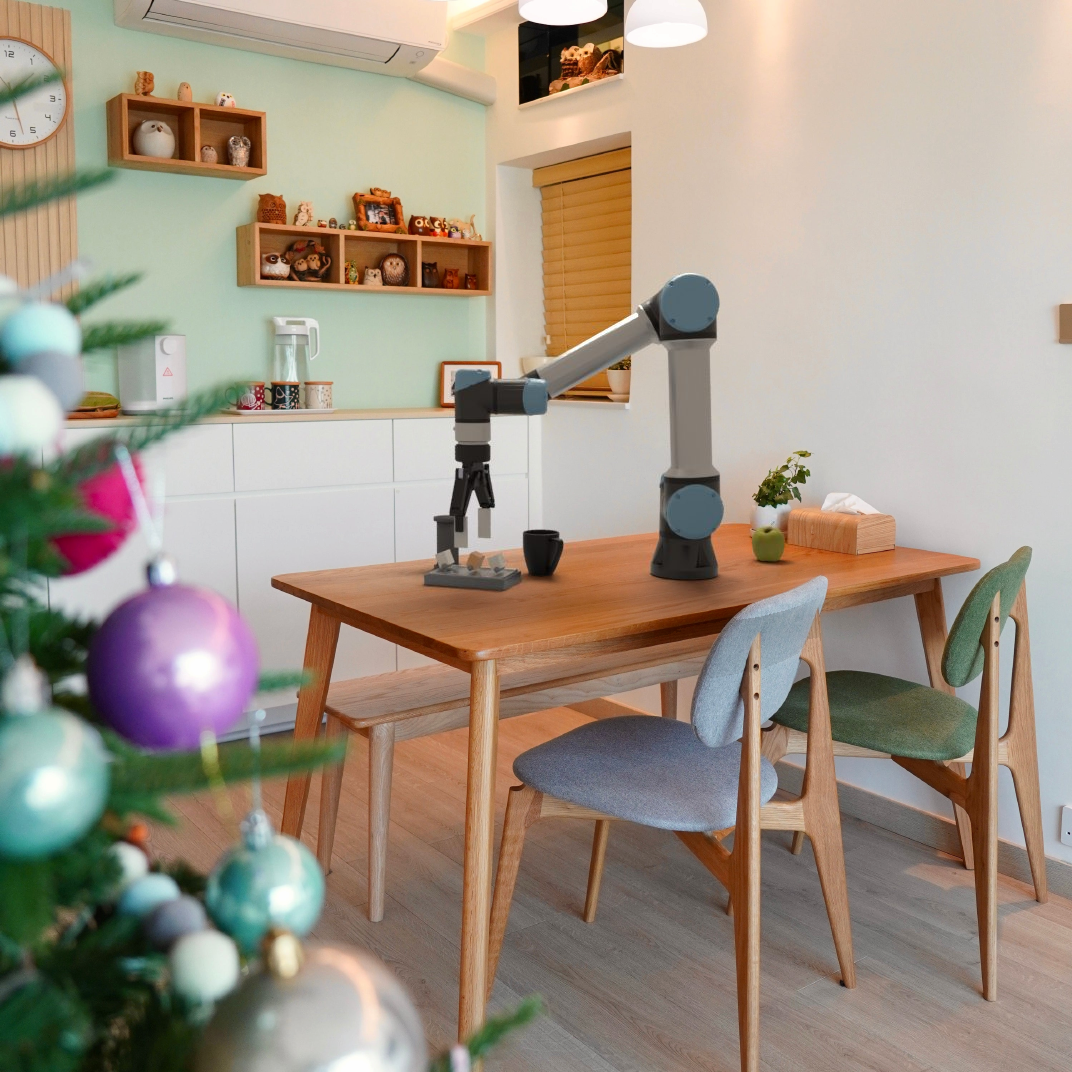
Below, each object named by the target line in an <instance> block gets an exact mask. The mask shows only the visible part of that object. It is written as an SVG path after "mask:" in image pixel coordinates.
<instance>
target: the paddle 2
mask: <svg viewBox="0 0 1072 1072" xmlns="http://www.w3.org/2000/svg"><path fill="white" fill-rule="evenodd" d="M486 559H487V561H488V565H489V567H491V570H492V571H494V572H496V573H498V572H500V571H502V570H504V569H505V568H506V567H507V565H508V564H507V563H506V560H505V558H504V555H503V552H499V553H495V554H493V555H491V556H489V557H487V558H486Z"/></svg>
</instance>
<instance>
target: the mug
mask: <svg viewBox="0 0 1072 1072" xmlns="http://www.w3.org/2000/svg"><path fill="white" fill-rule="evenodd" d="M564 544H565V543H564V540H563V539H562V538H560V532H559V530H555V529H554V530H553V529H527V530H524V531H523V532H522V551H523V557H524V563H525V565H526V569H527V573H528V575H530V576H535V577H548V576H549V577H550V576H552V575H554V572H555V571H556V569H557V567H558V564H559V562H560V560H561V557H562V554H563V551H564Z"/></svg>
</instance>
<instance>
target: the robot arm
mask: <svg viewBox="0 0 1072 1072" xmlns="http://www.w3.org/2000/svg"><path fill="white" fill-rule="evenodd" d="M719 309H720V295H719V293H718V290H717V288H716V287H715V285H714V283H713V282H712V281H711V280H709V279H708V278H707V277H706V276H705V275H704V276H703V275H701V274H698V273H695V272H692V273H691V272H687V273H680V274H677V275H675V276H673V277H672V278H670V279H669V280H667V282H666V283H665V284H664V286H663V287H662V288H660V290H658V291H657V293H655V294H654V295H653V296H652V297H651V298H648V300H646V301H644V302H642V303H640V304H638V307H637V309H636V311H635V312H634V313H632V314H630V315H629V316H627V317H625V318H623V319H622V320H620V321H618V322H616V323H615V324H613V325H611V326H609V327H608V328H605V329H604V330H602V331H600V332H599V333H597V334H594V335H593V336H592V337H590V338H588V339H586V340H585V341H583V342H580V343H579V344H577V345H575V346H573V347H571V348H570V349H568V350H566V351H565V352H563V353H561V354H559V355H558V356H556V357H554V358H553V359H550V360H549V361H547V362H545V363H543V364H542V365H540V366H538V367H537V368H535V369H533V370H532V371H529V372H527V373H526V374H524V375H522V376H520V377H519V378H495V377H492V375H491V371H490V369H487V368H480V369H479V368H476V369H475V368H461V369H458V370H457V371H456V372H455V374H454V391H453V393H454V396H453V399H454V426H453V428H452V430H453V431H454V440H455V441H456V442H457V443H456V444H455V445H454V460H455V461H456V462H458V463H461V467H455V471H454V472H455V473H454V483H453V488H452V493H451V499H450V506H449V512H448V513H449V514H448V515H450V516H454V547H457V548H461V549H462V548H463V549H468V548H469V544H468V543H469V538H468V537H469V536H468V535H469V534H468V533H469V532H468V531H469V530H468V526H469V523H468V522H469V521H468V519H469V518H468V516H466V515H467V513H468V512H467V511H468V508H469V505H470V501H471V497H472V493H473V491H474V494H475V497H476V501H477V502H478V505H479V507H478V508H477V539H491V538H492V537H491V536H492V535H491V534H492V533H491V532H492V530H491V527H492V525H491V523H492V522H491V521H492V520H491V519H492V517H491V516H492V515H491V513H492V512H491V511H492V509H495V507H496V503H495V495H494V491H493V490H494V489H493V484H492V480H491V471H490V470H491V469H490V463H489V462H490V461H491V454H492V453H491V452H492V451H491V450H492V449H491V445H490V444H489V442H490V441H491V440H492V438H491V437H492V435H491V433H492V432H491V431H492V430H491V429H492V428H491V425H492V424H491V417H492V416H491V415H496V416H497V415H505V416H507V415H509V416H510V415H511V416H530V417H532V416H542V415H545V414H547V411H548V402H549V401H551V400H552V399H554V398H556V397H558V396H560V395H561V394H563V393H565V392H567V391H569V390H571V389H573V388H575V387H576V386H578V385H580V384H582V383H583V382H585V381H587V380H589V379H590V378H593V377H594V376H596V375H597V374H600V373H601V372H603V371H605V370H607V369H608V368H611V367H612V366H614V365H616V364H618V363H619V362H621V361H623V360H624V359H626V358H628V357H630V356H632V355H634V354H635V353H637V352H639V351H641V350H643V349H645V348H646V347H648V346H650V345H651V344H654V345H659V346H660V345H662V346H663V348H664V349H666V350H667V369H668V370H667V371H668V372H667V374H668V377H667V378H668V405H669V406H668V407H669V409H668V411H669V413H668V414H669V441H670V443H669V444H670V446H669V447H670V467H669V468H668V469H667V470H666V472H663V473H662V474H661V476H660V481H659V484H658V485H659V519H658V520H659V524H658V541H657V544H656V547H655V549H654V553H653V555H652V559H651V560H650V569H649V570H650V574H651V575H653V576H656V577H658V578H659V577H660V578H664V579H672V580H686V581H687V580H690V581H691V580H705V579H711V578H716V577H717V576H718V575H719V563H718V560H717V557H716V552H715V549H714V547H713V543H712V534H713V533H714V532H716V530H717V529H718V528H719V527H720V525H721V523H722V521H723V518H724V511H725V508H724V507H725V505H724V503H723V500H722V498H721V472H720V471H719V470H718V469H717V468H716V467H715V465H714V464H713V445H712V444H713V442H712V439H713V438H712V437H713V435H712V434H713V433H712V432H713V431H712V398H711V397H712V396H711V395H712V393H711V389H712V387H711V352H710V350H711V348H712V346H714V344H715V343H716V342H717V340H718V334H717V333H718V330H717V329H718V321H717V320H718V318H717V316H718V313H719Z"/></svg>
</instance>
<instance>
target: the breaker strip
mask: <svg viewBox="0 0 1072 1072" xmlns="http://www.w3.org/2000/svg"><path fill="white" fill-rule="evenodd" d="M467 567H468V566H466V564H461V565H454V564H453V565H452V566H451V567H448V568H446V569H442V567H441V568H438V569H436V570H435V569H434V570H431V571H429V572H427V573H425V574H423V585H424V586H434V587H435V586H438V587H450V588H451V587H452V588H464V589H465V588H467V589H478V590H493V591H505V590H507V589H509V588H511V587H513V586H514V585H516V584H518V583H520V582H521V581H522V570H518V568H514V567H511V568H510V567H505V569H504V570H502V571H500V572H498V573H496V572H494V571H492V570H491V567H490V566H482V565H481V568H479V569H477V570H472V571H469V570H468V569H467Z"/></svg>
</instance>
